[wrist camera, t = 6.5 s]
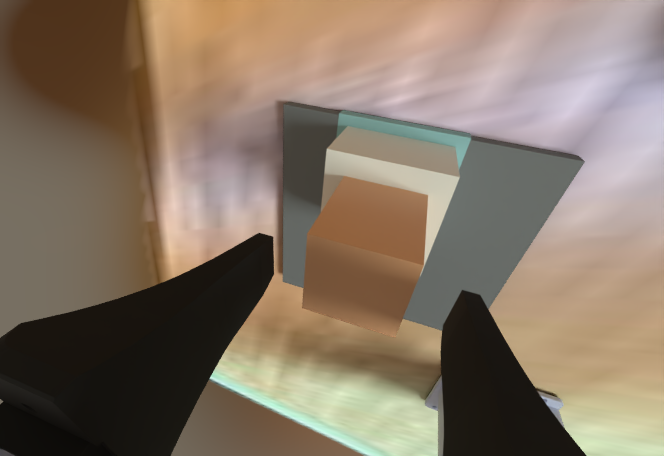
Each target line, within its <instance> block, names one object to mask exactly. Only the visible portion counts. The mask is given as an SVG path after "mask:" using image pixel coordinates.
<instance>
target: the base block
mask: <svg viewBox="0 0 664 456" xmlns="http://www.w3.org/2000/svg"><path fill="white" fill-rule="evenodd" d="M344 176H347V177H351V178H356V179H360V180H364V181H369V182H373V183H377V184H382V185H386V186H391V187H395V188H399V189H404V190H408V191H412V192H417V193H421V194H425V195H428V207H427V223H426V239H425V256H424V266H425V263H426V261H427V258H428V256H429V253H430V251H431V248H432V246H433V243H434V241H435V238H436V236H437V233H438V231H439V228H440V226H441V223H442V221H443V218H444V216H445V213H446V211H447V208H448V206H449V203H450V201H451V198H452V196H453V193H454V191H455V188H456V186H457V183H458V181H459V178H460V175H459V168H458V161H457V154H456V147H452V146H447V145H442V144H437V143H432V142H427V141H422V140H417V139H412V138H407V137H402V136H396V135H391V134H386V133H381V132H376V131H371V130H366V129H361V128H356V127H351V126H347V127H346V129H345V130H344V131H343V132H342V133H341V134H340V135H339V136H338V137H337V138H336V139H335V140H334V141H333V143H332V144H331V145H330V146H329V147H328V148H327V151H326V161H325V172H324V182H323V193H322V203H321V211H322V210H323V208H324V207H325V205H326V204H327V202H328V200H329V199H330V197H331V196H332V194H333V193H334V191H335V189H336V188H337V186H338V185H339V183H340V182H341V180H342V179H343V177H344ZM423 268H424V267H423ZM422 271H423V269H422ZM421 273H422V272H421ZM420 276H421V274H420Z"/></svg>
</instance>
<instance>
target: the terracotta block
mask: <svg viewBox="0 0 664 456" xmlns="http://www.w3.org/2000/svg"><path fill="white" fill-rule="evenodd" d="M427 207H428V195H425V194H421V193H417V192H412V191H408V190H404V189H399V188H395V187H391V186H386V185H382V184H377V183H373V182H369V181H364V180H360V179H356V178H351V177H347V176H344V177H343V179H342V180H341V182H340V183H339V185H338V186H337V188H336V189H335V191H334V193H333V194H332V196H331V197H330V199H329V200H328V202H327V204H326V205H325V207H324V208H323V210H322V211H321V213H320V215H319V216H318V218H317V219H316V221H315V222H314V224H313V225H312V227H311V229H310V230H309V232H308V233H307V244H306V259H305V274H304V289H303V303H302V308H304V309H307V310H310V311H313V312H316V313H319V314H322V315H326V316H329V317H332V318H335V319H338V320H341V321H344V322H347V323H350V324H354V325H357V326H360V327H363V328H366V329H369V330H372V331H375V332H378V333H382V334H385V335H388V336H391V337H394V338H395V337H396V334H397V332H398V329H399V327H400V324H401V322H402V319H403V317H404V314H405V312H406V309H407V307H408V304H409V302H410V299H411V297H412V294H413V292H414V289H415V287H416V284H417V282H418V279H419V277H420V274H421V272H422V269H423V267H424V256H425V239H426V223H427Z"/></svg>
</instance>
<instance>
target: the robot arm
mask: <svg viewBox="0 0 664 456" xmlns="http://www.w3.org/2000/svg"><path fill="white" fill-rule="evenodd" d="M273 275H274V255H273V237H272V236H268V235H265V234H261V233H258V234H256V235H254V236H253V237H251V238H249V239H247V240H246V241H244V242H242V243H240V244H239V245H237V246H235V247H233V248H232V249H230V250H228V251H226V252H224V253H223V254H221V255H219V256H217V257H215V258H214V259H212V260H210V261H208V262H206V263H204V264H202V265H200V266H198V267H196V268H194V269H192V270H190V271H188V272H186V273H183V274H181V275H179V276H177V277H175V278H172V279H170V280H167V281H165V282H163V283H160V284H158V285H155V286H153V287H150V288H147V289H145V290H142V291H139V292H136V293H133V294H130V295H127V296H124V297H121V298H119V299H115V300H112V301H109V302H105V303H102V304H99V305H95V306H91V307H88V308H84V309H80V310H77V311H73V312H69V313H65V314H60V315H56V316H51V317H47V318H43V319H39V320H34V321H29V322H24V323H21V324H19V325H18V326H16V327H15V328H14V329H12V330H11V331H9V332H8V333H7V334H5V335H4V336H2V337H1V338H0V399H1V400H2V401H4V402H3V403H1V404H0V456H171V453H172V451H173V449H174V447H175V445H176V443H177V441H178V439H179V437H180V434H181V432H182V430H183V428H184V426H185V424H186V422H187V420H188V418H189V417H190V414H191V413H192V410H193V409H194V406H195V405H196V403H197V400H198V399H199V397H200V395H201V393H202V391H203V389H204V388H205V386H206V384H207V382H208V380H209V378H210V376H211V375H212V373H213V371H214V369H215V367H216V366H217V364H218V362H219V360H220V359H221V357H222V355H223V353H224V352H225V350H226V348H227V347H228V345H229V344H230V342H231V341H232V339H233V338H234V336H235V335H236V333H237V332H238V331H239V329H240V328H241V326H242V325H243V323H244V322H245V321H246V319H247V318H248V316H249V315H250V313H251V312H252V311H253V309H254V308H255V306H256V305H257V303H258V302H259V300H260V299H261V297H262V296H263V294H264V292H265V290H266V289H267V287H268V285H269V283H270V281H271V279H272V277H273ZM441 374H442V375H441V377H440V378H439V380H438V381H437V383H436V384H435V386H434V387H433V389H432V391H431V392H430V394H429V395H428V397H427V398H426V400H425V405H426V406H427V407H429V408H431V409H434V410H437V411H438V456H586V455H585V453H584V452H583V451H582V450H581V449H580V447H579V446H578V445H577V444H576V442H575V441H574V440H573V439H572V437H571V436H570V435H569V434H568V432H567V431H566V430H565V428H564V425H563V422H562V419H561V415H560V412H559V409H560V408H561V407H563V402H562V400H561V399H560V398H557V397H554V396H551V395H548V394H545V393H542V392H539V391H537V390H536V389H535V387H534V386H533V384H532V383H531V381H530V380H529V378H528V377H527V375H526V373H525V372H524V370H523V369H522V367H521V366H520V364H519V362H518V361H517V359H516V357H515V356H514V354H513V352H512V351H511V349H510V347H509V346H508V344H507V342H506V341H505V339H504V337H503V335H502V334H501V332H500V330H499V328H498V326H497V325H496V323H495V321H494V319H493V317H492V315H491V314H490V312H489V310H488V308H487V306H486V304H485V302H484V301H483V299H482V297H481V295H479V294H476V293H472V292H468V291H465V290H462V291H461V293H460V294H459V296H458V298H457V300H456V302H455V304H454V306H453V307H452V309H451V311H450V313H449V315H448V317H447V319H446V320H445V322H444V324H443V329H442V340H441Z"/></svg>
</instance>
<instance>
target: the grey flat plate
mask: <svg viewBox="0 0 664 456" xmlns="http://www.w3.org/2000/svg"><path fill="white" fill-rule="evenodd" d="M347 126H351V127H356V128H361V129H366V130H371V131H376V132H381V133H386V134H391V135H396V136H402V137H407V138H412V139H417V140H422V141H427V142H432V143H437V144H442V145H447V146H452V147H456V154H457V161H458V168H459V175H460V178H459V181H458V183H457V186H456V188H455V191H454V193H453V196H452V198H451V201H450V203H449V206H448V208H447V211H446V213H445V216H444V218H443V221H442V223H441V226H440V228H439V231H438V233H437V236H436V238H435V241H434V243H433V246H432V248H431V251H430V253H429V256H428V258H427V261H426V263H425V266H424V268H423V271H422V273H421V276H420V277H419V279H418V282H417V284H416V287H415V289H414V292H413V294H412V297H411V299H410V302H409V304H408V307H407V309H406V312H405V314H404V317H403V319H406V320H409V321H413V322H416V323H419V324H422V325H426V326H429V327H432V328H435V329H439V330H442V329H443V324H444V322H445V320H446V319H447V317H448V315H449V313H450V311H451V309H452V307H453V306H454V304H455V302H456V300H457V298H458V296H459V294H460V293H461V291H462V290H465V291H468V292H472V293H476V294H479V295H481V297H482V299H483V301H484V302H485V304H486V306H487V308H488V309H489V307H490V306H491V304H492V303H493V301H494V300H495V298H496V297H497V295H498V294H499V292H500V290H501V289H502V287H503V286H504V284H505V283H506V281H507V280H508V278H509V277H510V275H511V274H512V272H513V271H514V269H515V268H516V266H517V264H518V263H519V261H520V260H521V258H522V257H523V255H524V254H525V252H526V251H527V249H528V248H529V246H530V245H531V243H532V242H533V240H534V239H535V237H536V235H537V234H538V232H539V231H540V229H541V228H542V226H543V225H544V223H545V222H546V220H547V219H548V217H549V216H550V214H551V213H552V211H553V209H554V208H555V206H556V205H557V203H558V202H559V200H560V199H561V197H562V196H563V194H564V193H565V191H566V190H567V188H568V187H569V185H570V183H571V182H572V180H573V179H574V177H575V176H576V174H577V173H578V171H579V170H580V168H581V167H582V165H583V164H584V162H585V161H584V160H582V159H581V158H580V157H579V156H576V155H571V154H565V153H560V152H555V151H549V150H544V149H539V148H533V147H528V146H523V145H517V144H512V143H507V142H501V141H496V140H491V139H485V138H480V137H475V136H471V135H470V134H469V133H464V132H458V131H453V130H448V129H442V128H437V127H431V126H426V125H421V124H415V123H410V122H405V121H399V120H394V119H389V118H383V117H378V116H372V115H367V114H362V113H356V112H351V111H346V110H342V111H336V110H331V109H325V108H320V107H315V106H309V105H304V104H299V103H293V102H288V103H285V104H284V125H283V282H285V283H289V284H292V285H295V286H298V287H302V288H304V274H305V259H306V244H307V233H308V232H309V230H310V229H311V227H312V225H313V224H314V222H315V221H316V219H317V218H318V216H319V215H320V213H321V203H322V193H323V182H324V172H325V161H326V151H327V148H328V147H329V146H330V145H331V144H332V143H333V141H334V140H335V139H336V138H337V137H338V136H339V135H340V134H341V133H342V132H343V131H344V130H345V129H346V127H347Z"/></svg>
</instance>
